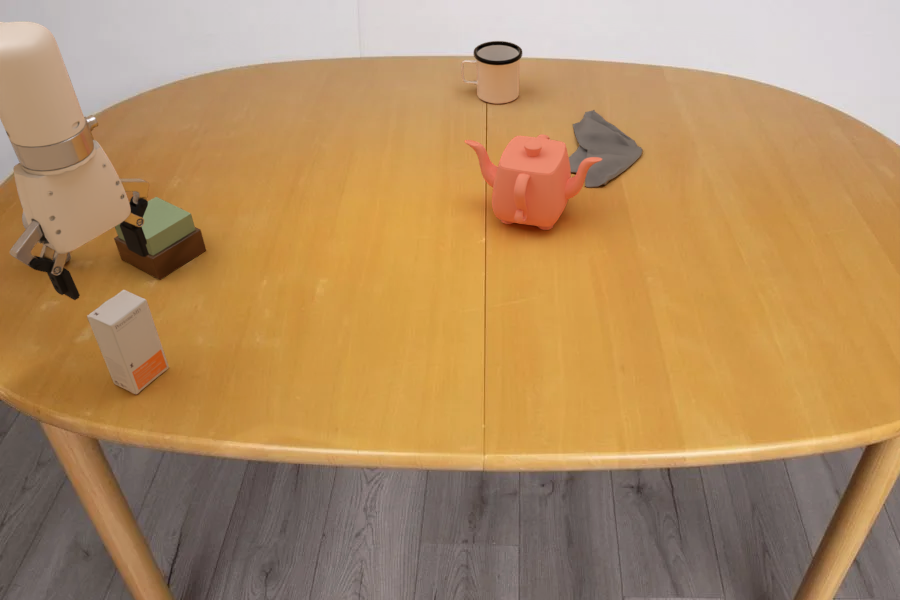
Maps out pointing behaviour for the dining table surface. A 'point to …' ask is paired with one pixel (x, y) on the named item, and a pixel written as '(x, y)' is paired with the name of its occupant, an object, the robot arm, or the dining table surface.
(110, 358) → the cosmetic box
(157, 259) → the walnut block
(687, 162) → the dining table surface
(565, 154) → the teapot
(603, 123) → the cloth
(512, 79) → the mug
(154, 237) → the green block
